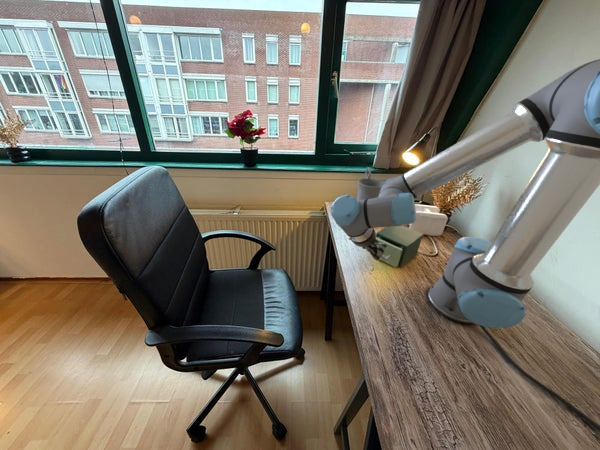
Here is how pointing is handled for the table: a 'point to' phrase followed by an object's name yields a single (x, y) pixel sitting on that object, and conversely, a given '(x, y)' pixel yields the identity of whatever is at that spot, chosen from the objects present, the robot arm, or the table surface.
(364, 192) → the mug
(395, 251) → the drawer
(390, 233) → the cabinet
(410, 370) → the table surface
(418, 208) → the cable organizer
